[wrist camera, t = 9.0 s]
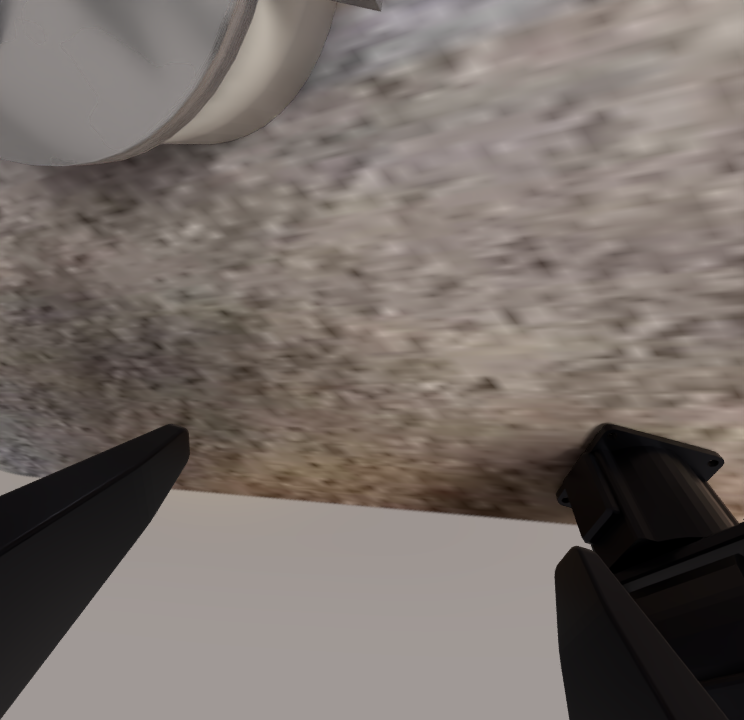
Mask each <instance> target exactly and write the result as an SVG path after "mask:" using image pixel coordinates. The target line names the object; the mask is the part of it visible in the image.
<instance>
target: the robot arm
mask: <svg viewBox="0 0 744 720" xmlns="http://www.w3.org/2000/svg"><path fill="white" fill-rule="evenodd" d="M610 433H613V434H612V435H608V434H610ZM189 455H190V447H189V432H188V430H187V429H186V428H184V427H181V426H178V425H174V424H168V425H165V426H162V427H160V428H158V429H155V430H153V431H151V432H148V433H146V434H144V435H141V436H139V437H137V438H134V439H132V440H130V441H127V442H125V443H123V444H120V445H118V446H116V447H113V448H111V449H109V450H106V451H104V452H102V453H99V454H97V455H95V456H92V457H90V458H88V459H85V460H83V461H81V462H78V463H76V464H74V465H71V466H69V467H67V468H64V469H62V470H60V471H57V472H55V473H53V474H50V475H48V476H46V477H43V478H41V479H39V480H36V481H34V482H32V483H29V484H27V485H25V486H22V487H20V488H18V489H15V490H13V491H11V492H8V493H6V494H4V495H1V496H0V719H1V718H2V717H3V715H4V714H5V713H6V711H7V710H8V709H9V707H10V706H11V705H12V704H13V702H14V701H15V700H16V698H17V697H18V696H19V694H20V693H21V692H22V690H23V689H24V688H25V686H26V685H27V684H28V683H29V681H30V680H31V679H32V677H33V676H34V675H35V673H36V672H37V671H38V669H39V668H40V667H41V665H42V664H43V663H44V661H45V660H46V659H47V658H48V656H49V655H50V654H51V652H52V651H53V650H54V648H55V647H56V646H57V644H58V643H59V642H60V640H61V639H62V638H63V636H64V635H65V634H66V633H67V631H68V630H69V629H70V627H71V626H72V624H73V623H74V622H75V621H76V619H77V618H78V617H79V616H80V614H81V613H82V612H83V610H84V609H85V608H86V606H87V605H88V604H89V602H90V601H91V600H92V598H93V597H94V596H95V594H96V593H97V592H98V591H99V589H100V588H101V587H102V585H103V584H104V583H105V581H106V580H107V579H108V577H109V576H110V575H111V573H112V572H113V571H114V569H115V568H116V567H117V565H118V564H119V563H120V562H121V560H122V559H123V558H124V556H125V555H126V554H127V552H128V551H129V550H130V548H131V547H132V546H133V544H134V543H135V542H136V541H137V539H138V538H139V536H140V535H141V534H142V533H143V531H144V530H145V528H146V527H147V526H148V524H149V523H150V522H151V520H152V518H153V517H154V515H155V514H156V512H157V511H158V509H159V507H160V506H161V504H162V503H163V501H164V499H165V498H166V496H167V494H168V493H169V491H170V490H171V488H172V486H173V485H174V483H175V481H176V480H177V478H178V476H179V475H180V473H181V472H182V470H183V468H184V467H185V465H186V463H187V461H188V459H189ZM711 460H712V461H711ZM723 464H724V460H723V459H722V457H721V456H720V455H719V454H718V453H716V452H714V451H710V450H706V449H703V448H699V447H695V446H691V445H688V444H684V443H680V442H676V441H673V440H669V439H665V438H661V437H658V436H654V435H650V434H646V433H643V432H639V431H635V430H631V429H628V428H624V427H620V426H616V425H606V426H604V427H603V428H602V429H601V430H600V431H599V433H598V434H597V435H596V437H595V438H594V440H593V441H592V443H591V444H590V446H589V447H588V448H587V450H586V451H585V453H584V454H582V455H581V457H580V458H579V459H578V461H577V462H576V464H575V465H574V467H573V468H572V470H571V471H570V472H569V474H568V475H567V477H566V478H565V480H564V481H563V485H562V486H561V487H560V489H559V490H558V492H557V493H556V498H557V501H558V503H559V504H561V505H563V506H567V507H570V508H572V510H573V513H574V516H575V519H576V522H577V525H578V528H579V531H580V533H581V536H582V538H583V540H584V542H585V543H588V544H591V547H592V550H593V551H592V550H589V549H586V548H583V547H579V546H574V547H572V548H571V549H570V550H569V551H568V552H567V554H566V555H565V556H564V557H563V559H562V560H561V561H560V562H559V564H558V565H557V567H556V570H555V593H556V611H557V628H558V643H559V654H560V662H561V669H562V675H563V682H564V688H565V694H566V701H567V707H568V713H569V720H744V522H742V523H738V521H737V520H736V519H735V517H734V516H733V515H732V514H731V512H730V511H729V510H728V508H727V507H726V506H725V504H724V503H723V502H722V501H721V499H720V498H719V497H718V495H717V494H716V493H715V491H714V490H713V489H712V488H711V486H710V485H709V484H708V482H707V481H708V480H709V479H710V478H711V477H712V476H713V475H714V474H715V473H716V472H717V471H718V470H719V469H720V468H721V467H722V466H723ZM565 497H567V498H565ZM743 520H744V519H743Z"/></svg>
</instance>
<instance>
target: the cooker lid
mask: <svg viewBox="0 0 744 720" xmlns="http://www.w3.org/2000/svg"><path fill="white" fill-rule="evenodd" d="M257 3H258V0H0V159H2V160H7V161H12V162H17V163H23V164H28V165H38V166H76V165H96V164H102V163H109V162H116V161H122V160H125V159H128V158H131V157H134V156H136V155H139V154H142V153H145V152H148V151H149V150H151V149H153V148H154V147H156V146H158V145H160V144H161V143H163V142H165V141H167V140H168V139H170V138H172V137H173V136H174V135H175V134H176V133H177V132H179V131H180V130H181V129H182V128H183V127H184V126H185V125H187V124H188V123H189V122H190V121H191V120H192V119H194V118H195V116H196V115H197V114H198V113H199V112H200V110H201V109H202V108H203V107H204V106H205V104H206V103H207V102H208V101H209V100H210V98H211V97H212V96H213V95H214V93H215V92H216V91H217V89H218V87H219V86H220V84H221V82H222V81H223V79H224V77H225V76H226V74H227V72H228V71H229V69H230V67H231V66H232V64H233V62H234V61H235V59H236V57H237V54H238V52H239V50H240V47H241V45H242V43H243V40H244V38H245V36H246V33H247V31H248V29H249V26H250V24H251V22H252V19H253V16H254V13H255V10H256V6H257Z"/></svg>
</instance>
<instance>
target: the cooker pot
mask: <svg viewBox="0 0 744 720" xmlns="http://www.w3.org/2000/svg"><path fill="white" fill-rule="evenodd" d="M337 2H340V3H345V4H349V5H354V6H358V7H363V8H367V9H372V10H377V11H381V8H382V2H383V0H258V3H257V6H256V10H255V13H254V16H253V19H252V22H251V24H250V26H249V29H248V31H247V33H246V36H245V38H244V40H243V43H242V45H241V47H240V50H239V52H238V54H237V57H236V59H235V61H234V62H233V64H232V66H231V67H230V69H229V71H228V72H227V74H226V76H225V77H224V79H223V81H222V82H221V84H220V86H219V87H218V89H217V91H216V92H215V93H214V95H213V96H212V97H211V98H210V100H209V101H208V102H207V103H206V104H205V106H204V107H203V108H202V109H201V110H200V112H199V113H198V114H197V115H196V116H195V118H194V119H192V120H191V121H190V122H189V123H188V124H187V125H185V126H184V127H183V128H182V129H181V130H180V131H179V132H177V133H176V134H175V135H174V136H173V137H172V138H170V139H168V140H167V141H165V142H163V143H161V144H217V143H223V142H229V141H233V140H236V139H238V138H241V137H244V136H247V135H249V134H251V133H253V132H255V131H256V130H258V129H260V128H262V127H264V126H265V125H266V124H268V123H269V122H270V121H271V120H273V119H274V118H275V117H276V116H278V115H279V114H280V113H281V112H282V111H283V110H284V109H285V108H286V107H287V106H288V104H289V103H290V102H291V101H292V100H293V99H294V98H295V97H296V95H297V94H298V92H299V91H300V89H301V88H302V87H303V85H304V84H305V82H306V81H307V79H308V78H309V76H310V74H311V72H312V70H313V68H314V66H315V64H316V62H317V60H318V58H319V57H320V54H321V51H322V49H323V46H324V44H325V41H326V38H327V36H328V33H329V30H330V27H331V23H332V19H333V16H334V12H335V8H336V4H337Z"/></svg>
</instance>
